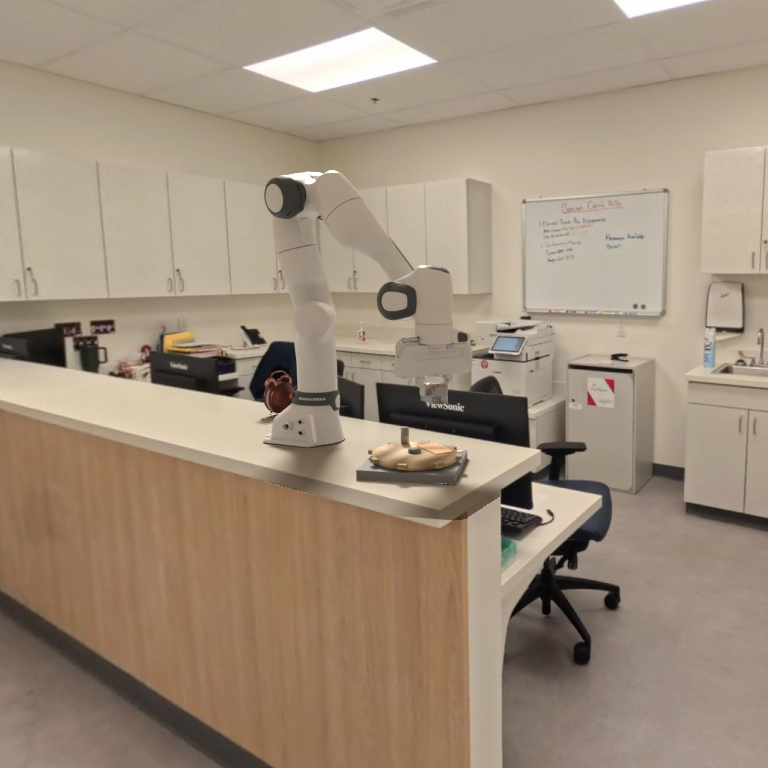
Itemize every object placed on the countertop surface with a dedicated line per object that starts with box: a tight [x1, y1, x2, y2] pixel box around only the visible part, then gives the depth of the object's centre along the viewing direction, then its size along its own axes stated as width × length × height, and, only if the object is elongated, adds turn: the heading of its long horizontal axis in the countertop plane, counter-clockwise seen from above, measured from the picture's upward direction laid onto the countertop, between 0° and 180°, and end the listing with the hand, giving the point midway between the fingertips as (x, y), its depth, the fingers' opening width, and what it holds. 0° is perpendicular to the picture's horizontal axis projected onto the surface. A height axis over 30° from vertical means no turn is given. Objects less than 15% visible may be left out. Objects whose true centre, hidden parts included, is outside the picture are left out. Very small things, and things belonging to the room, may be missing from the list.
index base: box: [355, 449, 468, 485], centre depth 150 cm, size 22×22×2 cm
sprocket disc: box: [367, 426, 463, 471], centre depth 149 cm, size 22×22×6 cm
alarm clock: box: [263, 370, 295, 415], centre depth 213 cm, size 11×5×15 cm, turn 141°
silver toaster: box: [420, 381, 449, 405], centre depth 150 cm, size 8×4×4 cm, turn 30°
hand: (433, 394), depth 150 cm, fingers closed on silver toaster, 4 cm apart
